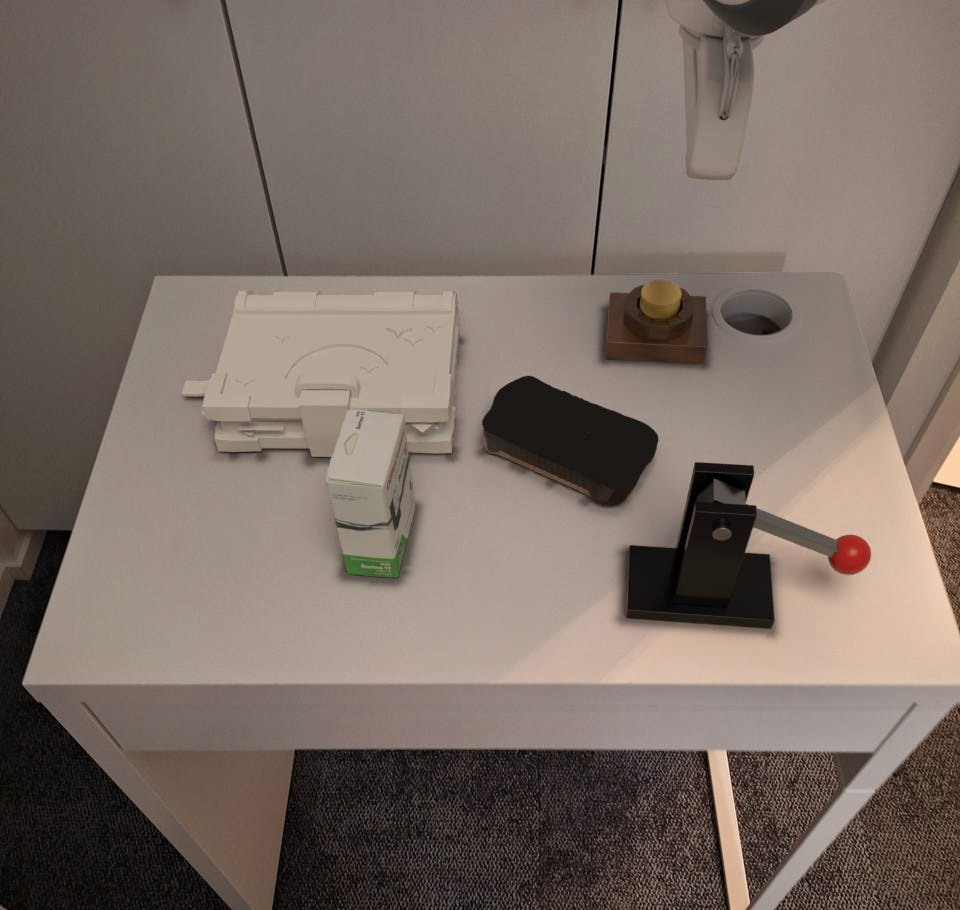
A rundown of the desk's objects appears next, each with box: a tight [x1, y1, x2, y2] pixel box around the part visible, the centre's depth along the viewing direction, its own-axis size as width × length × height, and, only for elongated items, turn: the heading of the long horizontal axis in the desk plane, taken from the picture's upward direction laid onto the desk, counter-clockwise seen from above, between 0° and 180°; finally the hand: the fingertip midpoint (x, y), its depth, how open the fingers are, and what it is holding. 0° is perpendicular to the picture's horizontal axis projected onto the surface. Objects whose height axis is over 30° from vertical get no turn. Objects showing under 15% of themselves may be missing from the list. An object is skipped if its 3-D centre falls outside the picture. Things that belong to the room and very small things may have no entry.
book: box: [181, 289, 460, 458], centre depth 93 cm, size 19×28×8 cm
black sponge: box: [481, 375, 660, 507], centre depth 89 cm, size 16×8×4 cm, turn 56°
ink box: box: [325, 407, 416, 579], centre depth 80 cm, size 9×5×12 cm, turn 171°
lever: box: [697, 478, 872, 576], centre depth 73 cm, size 15×3×3 cm, turn 83°
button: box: [640, 279, 682, 319], centre depth 95 cm, size 4×4×2 cm
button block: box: [605, 284, 708, 365], centre depth 97 cm, size 10×8×4 cm
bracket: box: [625, 461, 776, 630], centre depth 76 cm, size 12×7×13 cm, turn 84°
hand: (695, 168), depth 80 cm, fingers closed
